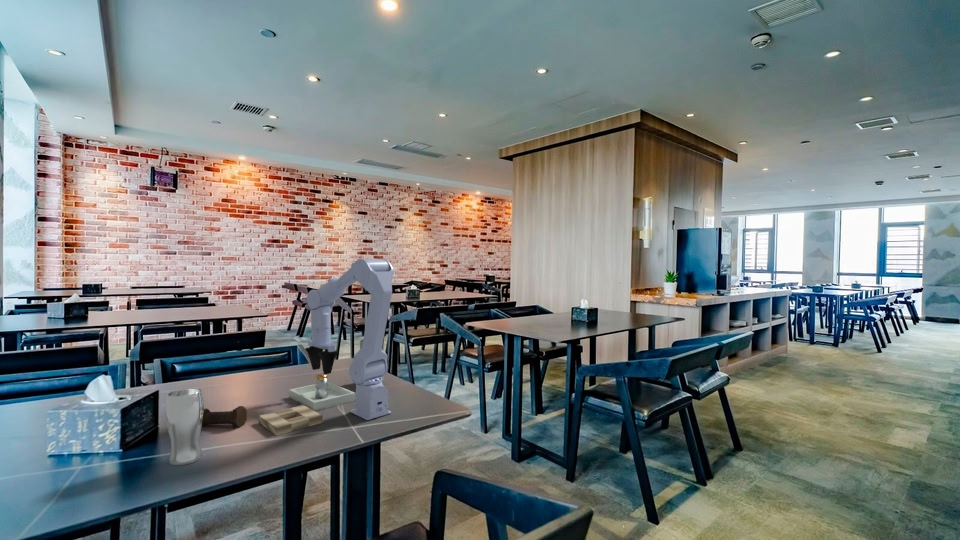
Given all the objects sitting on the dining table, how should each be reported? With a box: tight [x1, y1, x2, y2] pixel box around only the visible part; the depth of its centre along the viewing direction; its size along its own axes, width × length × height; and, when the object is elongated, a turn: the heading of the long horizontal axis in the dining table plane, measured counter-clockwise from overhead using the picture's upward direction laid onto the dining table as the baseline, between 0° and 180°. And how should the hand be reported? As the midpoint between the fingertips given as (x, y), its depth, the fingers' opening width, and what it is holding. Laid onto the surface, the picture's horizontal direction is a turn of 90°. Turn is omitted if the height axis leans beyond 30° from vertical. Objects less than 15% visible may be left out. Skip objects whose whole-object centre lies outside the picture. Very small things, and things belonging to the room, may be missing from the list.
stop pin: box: [314, 373, 328, 399], centre depth 138 cm, size 4×4×7 cm
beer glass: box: [165, 387, 205, 467], centre depth 97 cm, size 7×7×15 cm
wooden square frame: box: [258, 404, 324, 436], centre depth 118 cm, size 12×12×2 cm
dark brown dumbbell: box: [202, 405, 248, 429], centre depth 117 cm, size 6×5×15 cm
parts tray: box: [288, 380, 356, 412], centre depth 138 cm, size 18×13×2 cm
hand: (321, 371), depth 138 cm, fingers open, 7 cm apart
